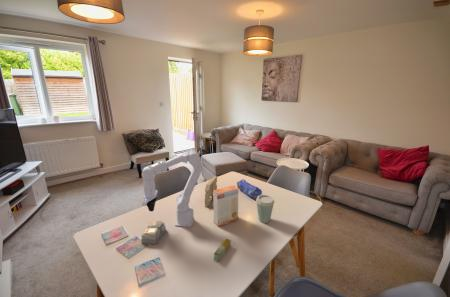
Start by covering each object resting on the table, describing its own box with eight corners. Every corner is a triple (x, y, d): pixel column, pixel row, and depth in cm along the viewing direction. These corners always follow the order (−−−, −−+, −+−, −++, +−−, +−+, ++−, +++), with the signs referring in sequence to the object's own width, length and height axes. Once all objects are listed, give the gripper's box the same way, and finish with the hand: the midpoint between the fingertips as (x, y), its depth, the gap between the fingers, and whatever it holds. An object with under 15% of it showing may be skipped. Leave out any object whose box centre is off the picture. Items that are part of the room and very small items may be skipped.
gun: (208, 208, 135) (208, 186, 132) (204, 207, 136) (204, 186, 133) (217, 194, 158) (217, 176, 156) (213, 194, 159) (213, 175, 157)
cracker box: (233, 215, 127) (233, 184, 122) (238, 220, 122) (239, 188, 117) (213, 221, 121) (212, 189, 115) (217, 227, 115) (217, 194, 110)
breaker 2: (158, 230, 105) (157, 227, 105) (155, 235, 102) (154, 231, 101) (147, 231, 106) (146, 228, 105) (144, 235, 103) (143, 232, 102)
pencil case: (236, 189, 162) (236, 178, 159) (244, 187, 166) (245, 176, 164) (253, 202, 144) (253, 189, 141) (262, 199, 148) (263, 187, 145)
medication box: (218, 262, 91) (218, 255, 90) (213, 260, 92) (213, 253, 91) (230, 246, 101) (230, 239, 100) (225, 244, 103) (225, 237, 102)
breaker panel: (165, 229, 113) (165, 222, 112) (156, 244, 102) (155, 236, 100) (152, 228, 114) (151, 221, 113) (141, 243, 102) (140, 235, 101)
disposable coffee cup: (276, 220, 122) (278, 197, 119) (266, 228, 115) (268, 204, 111) (261, 213, 129) (262, 192, 126) (251, 220, 122) (252, 198, 118)
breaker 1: (162, 223, 111) (161, 219, 110) (160, 226, 108) (159, 223, 107) (152, 224, 112) (151, 221, 111) (150, 228, 109) (148, 225, 108)
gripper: (148, 182, 117) (150, 203, 120) (135, 194, 103) (138, 217, 106) (160, 183, 116) (162, 204, 119) (148, 195, 102) (151, 218, 105)
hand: (151, 210), depth 113 cm, fingers closed
